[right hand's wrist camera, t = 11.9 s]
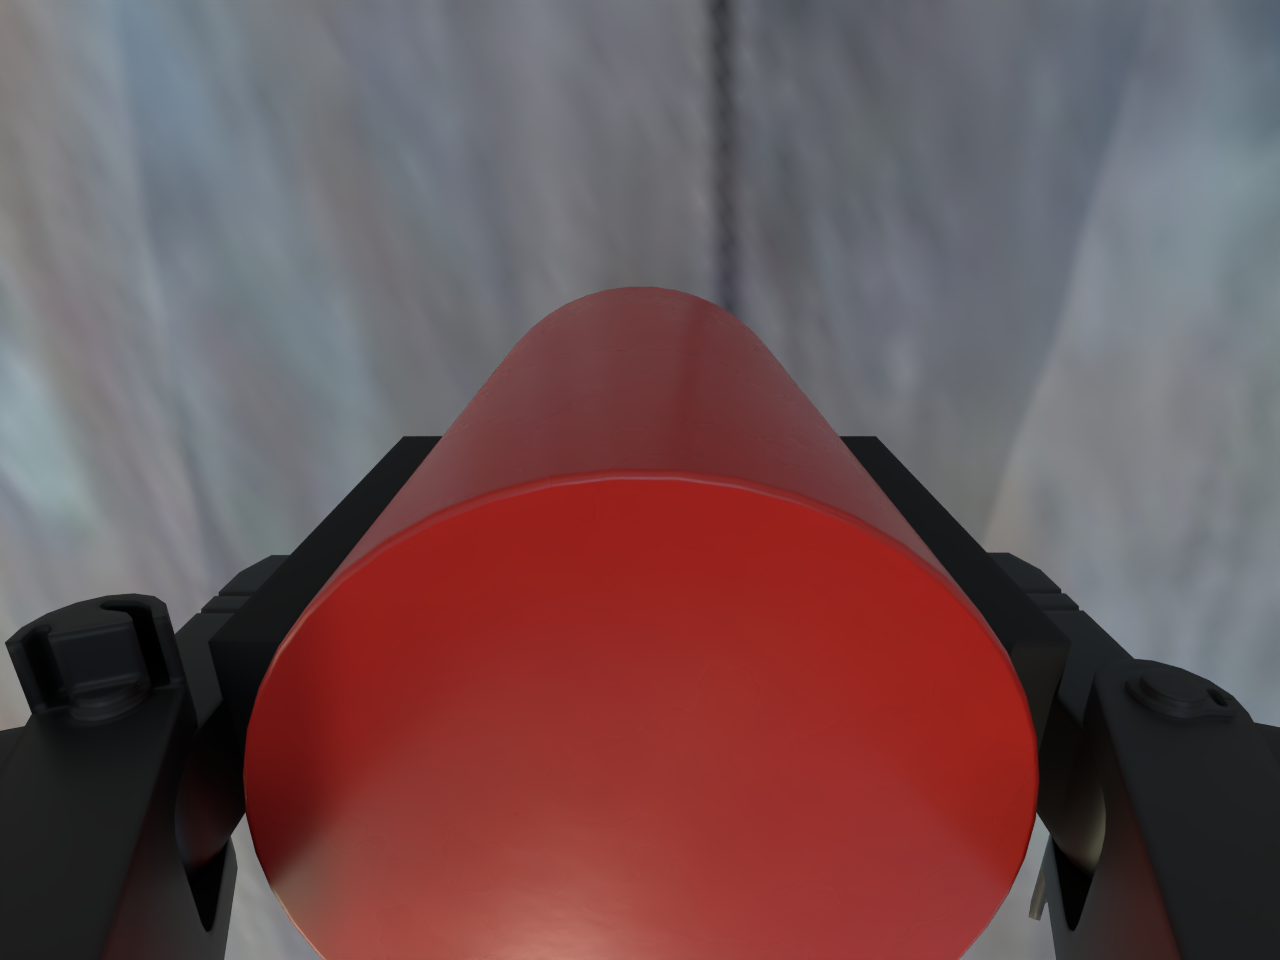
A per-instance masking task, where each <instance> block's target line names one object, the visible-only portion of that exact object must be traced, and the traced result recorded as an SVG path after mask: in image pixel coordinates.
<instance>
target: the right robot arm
mask: <svg viewBox="0 0 1280 960" xmlns="http://www.w3.org/2000/svg"><path fill="white" fill-rule="evenodd" d="M442 437H443V436H404V437H403V438H402V439H401V440H400V441H399V442H398V443H397V444H396V445H395V446H394V447H393V448H392V449H391V450H390V451H389V452H388V453H387V454H386V455H385V456H384V458H383V459H382V460H381V461H380V462H379V463H378V464H377V465H376V466H375V467H374V468H373V469H372V470H371V471H370V472H369V473H368V474H367V475H366V476H365V477H364V478H363V479H362V481H361V482H360V483H359V484H358V485H357V486H356V487H355V488H354V489H353V490H352V491H351V492H350V493H349V494H348V495H347V496H346V497H345V498H344V499H343V500H342V501H341V503H340V504H339V505H338V506H337V507H336V508H335V509H334V510H333V511H332V512H331V513H330V514H329V515H328V516H327V517H326V518H325V519H324V520H323V521H322V522H321V523H320V525H319V526H318V527H317V528H316V529H315V530H314V531H313V532H312V533H311V534H310V535H309V536H308V537H307V538H306V539H305V540H304V541H303V542H302V543H301V544H300V545H299V547H298V548H297V549H296V550H295V551H294V552H293V553H292V554H291V555H271V556H269V557H267V558H265V559H263V560H262V561H260V562H258V563H256V564H254V565H252V566H250V567H249V568H247V569H245V570H243V571H241V572H239V573H238V574H237V575H236V576H235V577H234V578H233V579H232V580H231V581H230V582H229V583H228V584H227V585H226V586H225V587H224V588H223V589H222V590H221V591H220V592H219V596H214V597H213V598H212V599H211V600H210V601H209V602H208V603H207V604H206V605H205V606H204V607H203V608H202V609H201V613H197V614H196V615H195V616H193V617H192V618H191V619H190V620H189V621H188V622H187V623H186V624H185V625H184V626H183V627H182V628H181V629H180V630H179V631H178V632H177V633H176V634H175V635H174V631H173V627H172V624H171V620H170V617H169V613H168V610H167V606H166V604H165V603H164V602H162V601H161V600H159V599H158V598H156V597H155V596H149V595H141V594H121V595H109V596H103V597H99V598H95V599H90V600H86V601H81V602H77V603H74V604H72V605H69V606H66V607H63V608H61V609H58V610H55V611H53V612H50V613H47V614H45V615H43V616H42V617H40V618H38V619H36V620H34V621H33V622H31V623H29V624H27V625H25V626H24V627H22V628H21V629H19V630H18V631H17V632H16V633H15V634H14V635H13V636H12V637H11V638H10V639H8V640H7V641H6V642H5V644H6V647H7V650H8V652H9V655H10V657H11V660H12V663H13V665H14V668H15V670H16V673H17V676H18V678H19V681H20V684H21V686H22V689H23V691H24V694H25V697H26V699H27V702H28V704H29V707H30V710H31V712H32V715H31V716H30V718H29V720H28V722H27V723H26V725H25V726H23V727H18V728H13V729H8V730H3V731H0V960H224V956H225V950H226V943H227V936H228V929H229V923H230V916H231V909H232V902H233V896H234V889H235V882H236V875H237V869H238V868H237V861H236V854H235V850H234V846H233V842H232V839H231V834H232V833H233V831H234V829H235V828H236V826H237V825H238V823H239V822H240V820H241V818H242V817H243V815H244V814H245V812H246V808H245V796H244V783H243V768H244V758H245V747H246V737H247V728H248V725H249V721H250V717H251V714H252V710H253V707H254V703H255V699H256V696H257V692H258V689H259V686H260V684H261V682H262V680H263V678H264V676H265V674H266V672H267V669H268V667H269V665H270V663H271V661H272V659H273V657H274V655H275V653H276V651H277V649H278V647H279V645H280V644H281V642H282V641H283V640H284V638H285V637H286V635H287V634H288V632H289V631H290V630H291V628H292V627H293V625H294V624H295V623H296V621H297V620H298V618H299V617H300V615H301V614H302V613H303V611H304V610H305V608H306V607H307V606H308V605H309V603H310V602H311V601H312V600H313V598H314V597H315V596H316V595H317V593H318V592H319V591H320V590H321V588H322V587H323V586H324V585H325V583H326V582H327V581H328V580H329V578H330V577H331V576H332V575H333V573H334V572H335V571H336V570H337V568H338V567H339V566H340V565H341V563H342V562H343V561H344V559H345V558H346V557H347V556H348V554H349V553H350V552H351V551H352V549H353V548H354V547H355V546H356V544H357V543H358V542H359V541H360V539H361V538H362V537H363V536H364V534H365V533H366V532H367V531H368V529H369V528H370V527H371V526H372V524H373V523H374V522H375V521H376V519H377V518H378V517H379V516H380V514H381V513H382V512H383V511H384V509H385V508H386V507H387V506H388V504H389V503H390V502H391V501H392V499H393V498H394V497H395V496H396V494H397V493H398V492H399V491H400V489H401V488H402V487H403V486H404V484H405V483H406V482H407V481H408V479H409V478H410V477H411V476H412V474H413V473H414V472H415V471H416V469H417V468H418V467H419V466H420V464H421V463H422V462H423V461H424V459H425V458H426V457H427V456H428V454H429V453H430V452H431V451H432V449H433V448H434V447H435V446H436V444H437V443H438V442H439V441H440V439H441V438H442ZM839 437H840V439H841V440H842V441H843V442H844V444H845V445H846V446H847V447H848V449H849V450H850V451H851V452H852V453H853V455H854V456H855V457H856V458H857V460H858V461H859V462H860V463H861V465H862V466H863V467H864V468H865V470H866V471H867V472H868V473H869V475H870V476H871V477H872V478H873V480H874V481H875V482H876V483H877V484H878V486H879V487H880V488H881V489H882V491H883V492H884V493H885V494H886V496H887V497H888V498H889V499H890V501H891V502H892V503H893V504H894V506H895V507H896V508H897V509H898V511H899V512H900V513H901V514H902V516H903V517H904V518H905V519H906V520H907V522H908V523H909V524H910V525H911V527H912V528H913V529H914V530H915V532H916V533H917V534H918V535H919V537H920V538H921V539H922V540H923V542H924V543H925V544H926V545H927V547H928V548H929V549H930V550H931V552H932V553H933V554H934V555H935V556H936V558H937V559H938V560H939V561H940V563H941V564H942V565H943V566H944V568H945V569H946V570H947V571H948V573H949V574H950V575H951V576H952V578H953V579H954V580H955V581H956V583H957V584H958V585H959V586H960V587H961V589H962V590H963V591H964V592H965V594H966V595H967V596H968V597H969V599H970V600H971V601H972V602H973V604H974V605H975V606H976V607H977V609H978V610H979V611H980V612H981V614H982V615H983V617H984V618H985V620H986V621H987V623H988V624H989V626H990V627H991V629H992V630H993V632H994V633H995V635H996V636H997V637H998V639H999V640H1000V642H1001V643H1002V645H1003V646H1004V648H1005V649H1006V651H1007V653H1008V655H1009V657H1010V659H1011V661H1012V664H1013V666H1014V668H1015V670H1016V672H1017V675H1018V677H1019V679H1020V681H1021V684H1022V686H1023V688H1024V690H1025V692H1026V696H1027V700H1028V704H1029V708H1030V712H1031V716H1032V720H1033V724H1034V728H1035V732H1036V738H1037V751H1038V765H1039V779H1040V781H1039V791H1038V800H1037V810H1036V812H1037V814H1038V815H1039V817H1040V818H1041V820H1042V821H1043V823H1044V825H1045V826H1046V828H1047V829H1048V831H1049V832H1050V835H1049V839H1048V842H1047V846H1046V850H1045V853H1044V857H1043V860H1042V864H1041V868H1040V871H1039V875H1038V878H1037V882H1036V885H1035V889H1034V893H1033V896H1032V900H1031V906H1030V912H1029V917H1030V918H1033V919H1036V920H1040V918H1041V915H1042V911H1043V908H1044V905H1045V903H1046V902H1048V907H1049V914H1050V920H1051V927H1052V934H1053V941H1054V947H1055V954H1056V960H1280V727H1275V726H1270V725H1265V724H1260V723H1255V722H1253V720H1252V718H1251V717H1250V715H1249V713H1248V712H1247V711H1246V710H1245V709H1244V708H1243V706H1242V705H1241V704H1240V703H1239V702H1238V701H1237V700H1236V699H1235V698H1234V697H1233V696H1232V695H1231V694H1229V693H1228V692H1226V691H1225V690H1223V689H1222V688H1220V687H1218V686H1217V685H1215V684H1214V683H1212V682H1211V681H1209V680H1207V679H1205V678H1202V677H1200V676H1198V675H1196V674H1193V673H1191V672H1189V671H1186V670H1184V669H1182V668H1178V667H1175V666H1171V665H1167V664H1164V663H1160V662H1156V661H1152V660H1141V659H1134V658H1133V657H1132V656H1131V655H1130V654H1129V653H1128V652H1127V651H1125V650H1124V649H1123V648H1122V647H1121V646H1120V645H1119V644H1118V643H1117V642H1116V641H1115V640H1114V639H1113V638H1112V637H1111V636H1110V635H1109V634H1108V633H1107V632H1105V631H1104V630H1103V629H1102V628H1101V627H1100V626H1099V625H1098V624H1097V623H1096V622H1095V621H1094V620H1093V619H1092V618H1091V617H1090V616H1089V615H1088V614H1087V613H1085V612H1084V611H1079V606H1078V605H1077V604H1076V603H1075V602H1074V601H1073V600H1072V599H1071V598H1070V597H1069V596H1068V595H1066V594H1062V593H1061V589H1060V588H1059V587H1058V586H1057V585H1056V584H1055V583H1054V582H1053V581H1052V580H1051V579H1050V578H1049V577H1048V576H1046V575H1045V574H1044V573H1043V572H1042V571H1041V570H1040V569H1038V568H1036V567H1034V566H1033V565H1031V564H1029V563H1027V562H1025V561H1023V560H1021V559H1019V558H1018V557H1016V556H1014V555H1012V554H1010V553H987V552H986V551H985V550H984V549H983V548H982V547H981V546H980V545H979V544H978V543H977V542H976V541H975V540H974V539H973V538H972V537H971V536H970V535H969V533H968V532H967V531H966V530H965V529H964V528H963V527H962V526H961V525H960V524H959V523H958V522H957V521H956V520H955V519H954V518H953V517H952V516H951V515H950V514H949V513H948V511H947V510H946V509H945V508H944V507H943V506H942V505H941V504H940V503H939V502H938V501H937V500H936V499H935V498H934V497H933V496H932V495H931V494H930V493H929V492H928V491H927V489H926V488H925V487H924V486H923V485H922V484H921V483H920V482H919V481H918V480H917V479H916V478H915V477H914V476H913V475H912V474H911V473H910V472H909V471H908V470H907V469H906V467H905V466H904V465H903V464H902V463H901V462H900V461H899V460H898V459H897V458H896V457H895V456H894V455H893V454H892V453H891V452H890V451H889V450H888V449H887V448H886V447H885V445H884V444H883V443H882V442H881V441H880V440H879V439H878V438H877V437H876V436H839Z"/></svg>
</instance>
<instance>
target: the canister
mask: <svg viewBox="0 0 1280 960" xmlns="http://www.w3.org/2000/svg"><path fill="white" fill-rule="evenodd" d="M1039 781H1040V779H1039V765H1038V751H1037V738H1036V732H1035V728H1034V724H1033V720H1032V716H1031V712H1030V708H1029V704H1028V700H1027V696H1026V692H1025V690H1024V688H1023V686H1022V684H1021V681H1020V679H1019V677H1018V675H1017V672H1016V670H1015V668H1014V666H1013V664H1012V661H1011V659H1010V657H1009V655H1008V653H1007V651H1006V649H1005V648H1004V646H1003V645H1002V643H1001V642H1000V640H999V639H998V637H997V636H996V635H995V633H994V632H993V630H992V629H991V627H990V626H989V624H988V623H987V621H986V620H985V618H984V617H983V615H982V614H981V612H980V611H979V610H978V609H977V607H976V606H975V605H974V604H973V602H972V601H971V600H970V599H969V597H968V596H967V595H966V594H965V592H964V591H963V590H962V589H961V587H960V586H959V585H958V584H957V583H956V581H955V580H954V579H953V578H952V576H951V575H950V574H949V573H948V571H947V570H946V569H945V568H944V566H943V565H942V564H941V563H940V561H939V560H938V559H937V558H936V556H935V555H934V554H933V553H932V552H931V550H930V549H929V548H928V547H927V545H926V544H925V543H924V542H923V540H922V539H921V538H920V537H919V535H918V534H917V533H916V532H915V530H914V529H913V528H912V527H911V525H910V524H909V523H908V522H907V520H906V519H905V518H904V517H903V516H902V514H901V513H900V512H899V511H898V509H897V508H896V507H895V506H894V504H893V503H892V502H891V501H890V499H889V498H888V497H887V496H886V494H885V493H884V492H883V491H882V489H881V488H880V487H879V486H878V484H877V483H876V482H875V481H874V480H873V478H872V477H871V476H870V475H869V473H868V472H867V471H866V470H865V468H864V467H863V466H862V465H861V463H860V462H859V461H858V460H857V458H856V457H855V456H854V455H853V453H852V452H851V451H850V450H849V449H848V447H847V446H846V445H845V444H844V442H843V441H842V440H841V439H840V437H839V436H838V435H837V434H836V432H835V431H834V430H833V429H832V427H831V426H830V425H829V424H828V422H827V421H826V420H825V419H824V417H823V416H822V415H821V414H820V413H819V411H818V410H817V409H816V408H815V406H814V405H813V404H812V403H811V401H810V400H809V399H808V398H807V396H806V395H805V394H804V393H803V391H802V390H801V389H800V388H799V386H798V385H797V384H796V383H795V381H794V380H793V379H792V378H791V377H790V375H789V374H788V373H787V372H786V370H785V369H784V368H783V367H782V365H781V364H780V363H779V362H778V360H777V359H776V358H775V357H774V355H773V354H772V353H771V352H770V350H769V349H768V348H767V347H766V345H765V344H764V343H763V342H762V341H761V340H760V339H759V338H758V337H757V336H756V335H755V334H754V332H753V331H752V330H751V329H749V328H748V327H747V326H746V325H745V324H743V323H742V322H741V321H740V320H738V319H737V318H736V317H735V316H733V315H732V314H730V313H728V312H727V311H725V310H723V309H722V308H720V307H719V306H717V305H715V304H713V303H710V302H708V301H706V300H703V299H701V298H699V297H697V296H693V295H690V294H686V293H683V292H679V291H676V290H670V289H663V288H656V287H626V288H618V289H610V290H606V291H602V292H598V293H594V294H591V295H587V296H585V297H582V298H580V299H578V300H575V301H573V302H570V303H568V304H566V305H564V306H563V307H561V308H559V309H558V310H556V311H554V312H552V313H551V314H549V315H548V316H546V317H545V318H544V319H543V320H541V321H540V322H539V323H538V324H536V325H535V326H534V327H533V328H531V329H530V330H529V332H528V333H527V334H526V335H525V336H524V337H523V338H522V339H521V340H520V341H519V342H518V343H517V344H516V345H515V347H514V348H513V349H512V350H511V352H510V353H509V354H508V355H507V357H506V358H505V359H504V360H503V362H502V363H501V364H500V366H499V367H498V368H497V369H496V371H495V372H494V373H493V374H492V376H491V377H490V378H489V379H488V381H487V382H486V383H485V384H484V386H483V387H482V388H481V389H480V391H479V392H478V393H477V394H476V396H475V397H474V398H473V399H472V401H471V402H470V403H469V404H468V406H467V407H466V408H465V409H464V411H463V412H462V413H461V414H460V416H459V417H458V418H457V419H456V421H455V422H454V423H453V424H452V426H451V427H450V428H449V429H448V431H447V432H446V433H445V434H444V436H443V437H442V438H441V439H440V441H439V442H438V443H437V444H436V446H435V447H434V448H433V449H432V451H431V452H430V453H429V454H428V456H427V457H426V458H425V459H424V461H423V462H422V463H421V464H420V466H419V467H418V468H417V469H416V471H415V472H414V473H413V474H412V476H411V477H410V478H409V479H408V481H407V482H406V483H405V484H404V486H403V487H402V488H401V489H400V491H399V492H398V493H397V494H396V496H395V497H394V498H393V499H392V501H391V502H390V503H389V504H388V506H387V507H386V508H385V509H384V511H383V512H382V513H381V514H380V516H379V517H378V518H377V519H376V521H375V522H374V523H373V524H372V526H371V527H370V528H369V529H368V531H367V532H366V533H365V534H364V536H363V537H362V538H361V539H360V541H359V542H358V543H357V544H356V546H355V547H354V548H353V549H352V551H351V552H350V553H349V554H348V556H347V557H346V558H345V559H344V561H343V562H342V563H341V565H340V566H339V567H338V568H337V570H336V571H335V572H334V573H333V575H332V576H331V577H330V578H329V580H328V581H327V582H326V583H325V585H324V586H323V587H322V588H321V590H320V591H319V592H318V593H317V595H316V596H315V597H314V598H313V600H312V601H311V602H310V603H309V605H308V606H307V607H306V608H305V610H304V611H303V613H302V614H301V615H300V617H299V618H298V620H297V621H296V623H295V624H294V625H293V627H292V628H291V630H290V631H289V632H288V634H287V635H286V637H285V638H284V640H283V641H282V642H281V644H280V645H279V647H278V649H277V651H276V653H275V655H274V657H273V659H272V661H271V663H270V665H269V667H268V669H267V672H266V674H265V676H264V678H263V680H262V682H261V684H260V686H259V689H258V692H257V696H256V699H255V703H254V707H253V710H252V714H251V717H250V721H249V725H248V728H247V737H246V747H245V758H244V768H243V783H244V796H245V808H246V817H247V821H248V825H249V829H250V833H251V837H252V840H253V844H254V848H255V852H256V855H257V857H258V860H259V862H260V864H261V867H262V869H263V871H264V874H265V876H266V878H267V880H268V883H269V885H270V887H271V890H272V891H273V893H274V894H275V896H276V898H277V899H278V901H279V903H280V904H281V906H282V907H283V909H284V911H285V912H286V914H287V915H288V917H289V919H290V920H291V922H292V923H293V925H294V926H295V927H296V928H297V929H298V931H299V932H300V933H301V934H302V935H303V937H304V938H305V939H306V940H307V941H308V943H309V944H310V945H311V946H312V947H313V949H314V950H315V951H316V952H317V954H319V955H320V956H321V957H322V958H323V959H324V960H959V959H960V958H961V957H962V956H963V954H964V953H965V952H966V951H967V950H968V949H969V947H970V946H971V945H972V944H973V943H974V942H975V940H976V939H977V938H978V937H979V936H980V935H981V933H982V932H983V931H984V930H985V929H986V928H987V926H988V925H989V923H990V922H991V920H992V919H993V917H994V915H995V914H996V912H997V911H998V909H999V908H1000V906H1001V905H1002V903H1003V902H1004V900H1005V898H1006V897H1007V895H1008V894H1009V892H1010V890H1011V887H1012V885H1013V883H1014V881H1015V879H1016V876H1017V874H1018V872H1019V870H1020V868H1021V865H1022V863H1023V861H1024V859H1025V856H1026V852H1027V849H1028V845H1029V841H1030V838H1031V834H1032V831H1033V827H1034V823H1035V820H1036V810H1037V800H1038V791H1039Z"/></svg>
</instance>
